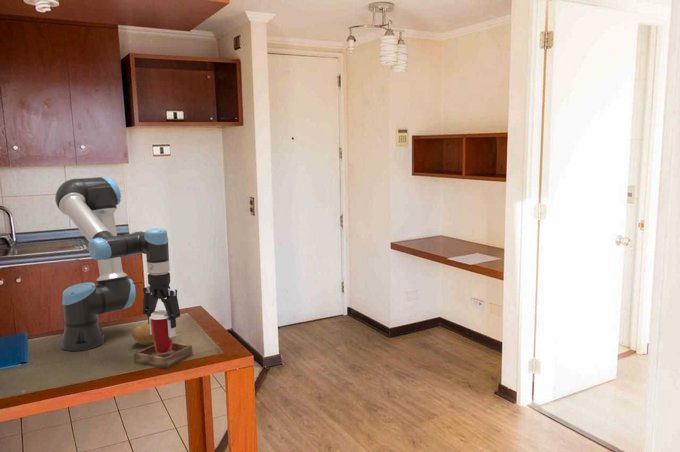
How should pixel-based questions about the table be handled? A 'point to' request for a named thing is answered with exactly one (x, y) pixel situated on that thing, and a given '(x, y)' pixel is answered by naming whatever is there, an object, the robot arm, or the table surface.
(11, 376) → the table surface
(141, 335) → the potato
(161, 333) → the paper cup
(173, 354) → the tray
